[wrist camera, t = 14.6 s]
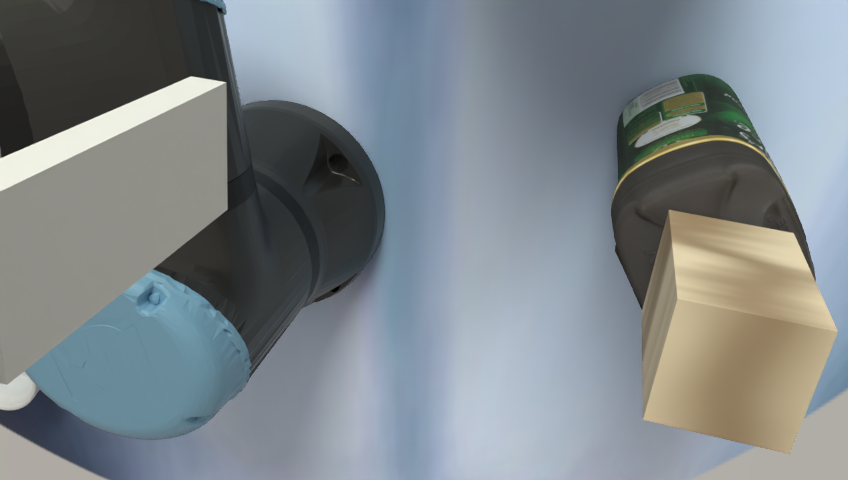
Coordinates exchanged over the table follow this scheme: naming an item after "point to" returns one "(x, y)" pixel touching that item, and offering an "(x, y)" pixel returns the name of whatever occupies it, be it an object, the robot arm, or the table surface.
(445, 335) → the table surface
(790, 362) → the beech block
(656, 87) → the coffee jar
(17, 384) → the ramekin
